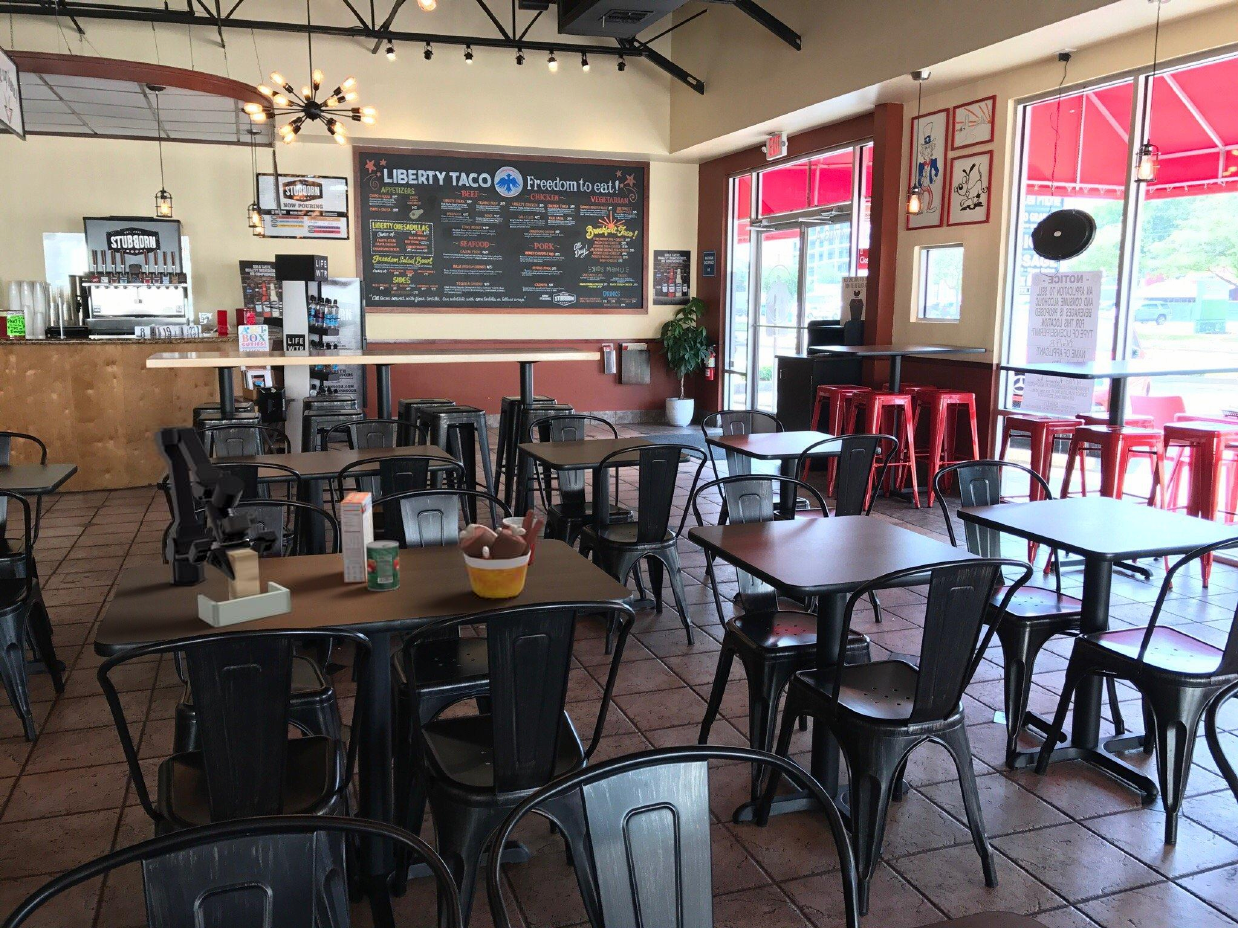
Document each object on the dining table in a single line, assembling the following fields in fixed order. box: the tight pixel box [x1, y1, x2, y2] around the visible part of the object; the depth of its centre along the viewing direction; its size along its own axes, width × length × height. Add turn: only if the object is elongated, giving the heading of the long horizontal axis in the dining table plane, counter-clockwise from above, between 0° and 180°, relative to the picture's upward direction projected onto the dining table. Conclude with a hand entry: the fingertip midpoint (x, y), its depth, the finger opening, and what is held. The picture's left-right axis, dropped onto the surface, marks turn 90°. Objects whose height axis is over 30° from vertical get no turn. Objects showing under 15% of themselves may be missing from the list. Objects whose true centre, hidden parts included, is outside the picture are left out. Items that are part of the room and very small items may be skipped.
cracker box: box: [339, 491, 374, 584], centre depth 250 cm, size 14×6×21 cm, turn 5°
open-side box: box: [197, 581, 292, 628], centre depth 219 cm, size 10×17×5 cm, turn 133°
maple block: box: [226, 548, 261, 601], centre depth 218 cm, size 5×5×12 cm
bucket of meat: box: [458, 509, 545, 600], centre depth 236 cm, size 20×16×20 cm
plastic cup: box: [502, 516, 538, 565], centre depth 265 cm, size 11×11×12 cm
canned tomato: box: [366, 540, 401, 592], centre depth 241 cm, size 8×8×11 cm
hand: (245, 577), depth 217 cm, fingers closed on maple block, 5 cm apart
